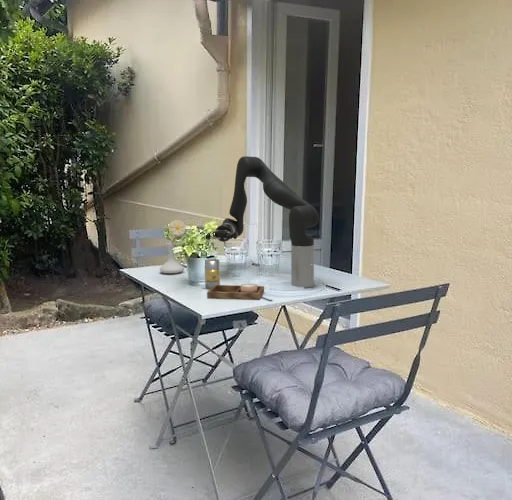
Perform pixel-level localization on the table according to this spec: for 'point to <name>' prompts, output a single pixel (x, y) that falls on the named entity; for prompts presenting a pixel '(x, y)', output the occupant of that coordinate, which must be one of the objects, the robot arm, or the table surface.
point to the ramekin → (249, 288)
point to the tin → (212, 273)
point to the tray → (233, 293)
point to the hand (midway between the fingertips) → (217, 237)
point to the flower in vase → (172, 264)
